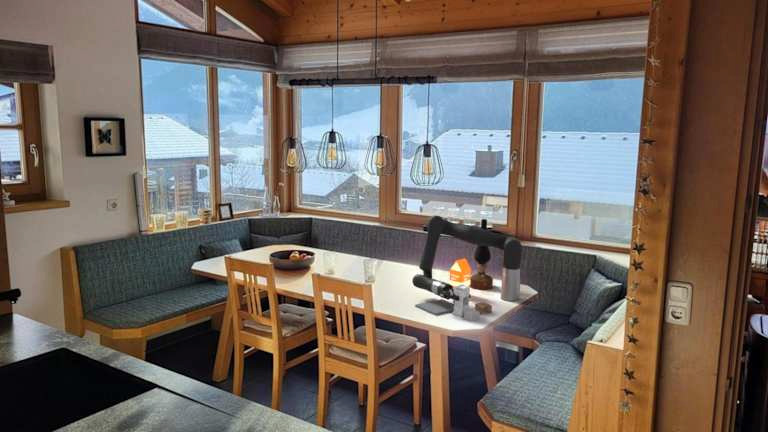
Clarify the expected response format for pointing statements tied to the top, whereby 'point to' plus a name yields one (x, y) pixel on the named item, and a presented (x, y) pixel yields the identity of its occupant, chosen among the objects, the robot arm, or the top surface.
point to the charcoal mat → (436, 307)
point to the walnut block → (483, 308)
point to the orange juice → (460, 273)
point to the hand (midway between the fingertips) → (464, 297)
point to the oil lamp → (482, 266)
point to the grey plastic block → (471, 315)
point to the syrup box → (461, 299)
